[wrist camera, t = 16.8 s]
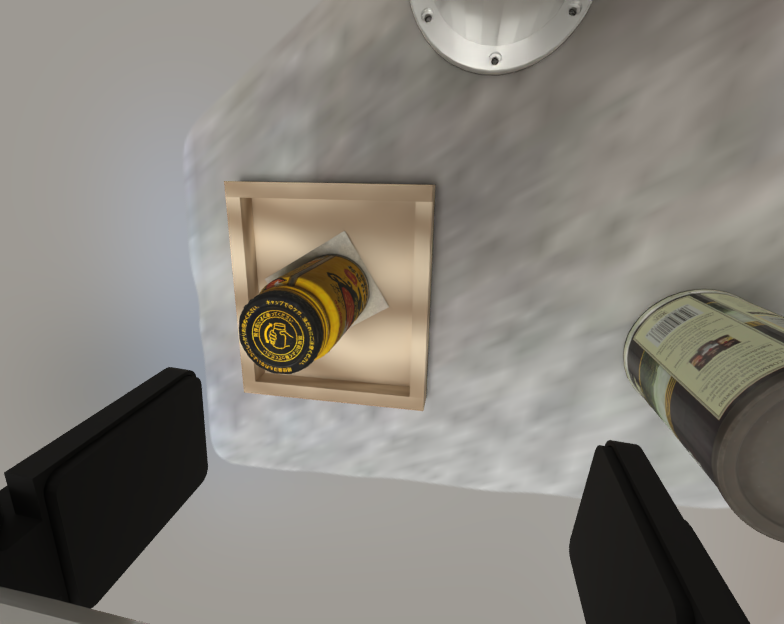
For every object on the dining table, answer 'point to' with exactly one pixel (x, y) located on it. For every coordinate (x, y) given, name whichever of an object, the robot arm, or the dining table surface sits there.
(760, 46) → the dining table surface
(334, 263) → the condiment
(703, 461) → the coffee can
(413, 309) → the tray
